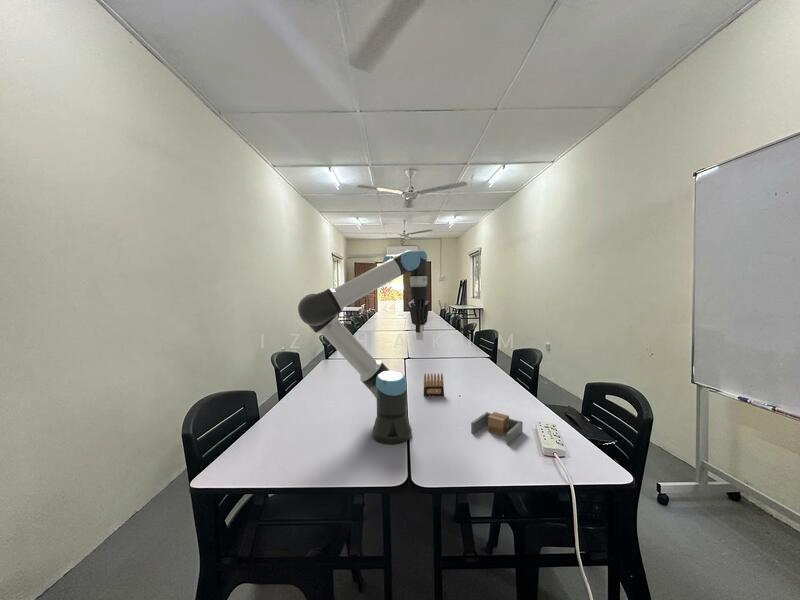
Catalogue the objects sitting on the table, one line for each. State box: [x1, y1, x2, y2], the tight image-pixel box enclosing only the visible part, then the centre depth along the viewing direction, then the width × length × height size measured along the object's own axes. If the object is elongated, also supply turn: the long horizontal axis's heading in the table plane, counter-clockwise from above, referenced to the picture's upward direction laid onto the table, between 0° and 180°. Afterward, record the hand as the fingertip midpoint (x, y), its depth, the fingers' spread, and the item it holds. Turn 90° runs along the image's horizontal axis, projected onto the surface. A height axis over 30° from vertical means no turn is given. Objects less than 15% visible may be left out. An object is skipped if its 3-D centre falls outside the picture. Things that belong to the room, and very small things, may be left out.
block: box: [487, 411, 510, 437], centre depth 119 cm, size 6×6×6 cm
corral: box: [470, 411, 524, 446], centre depth 118 cm, size 13×15×4 cm
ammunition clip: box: [423, 372, 445, 397], centre depth 160 cm, size 11×2×12 cm, turn 90°
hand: (419, 339), depth 135 cm, fingers closed
